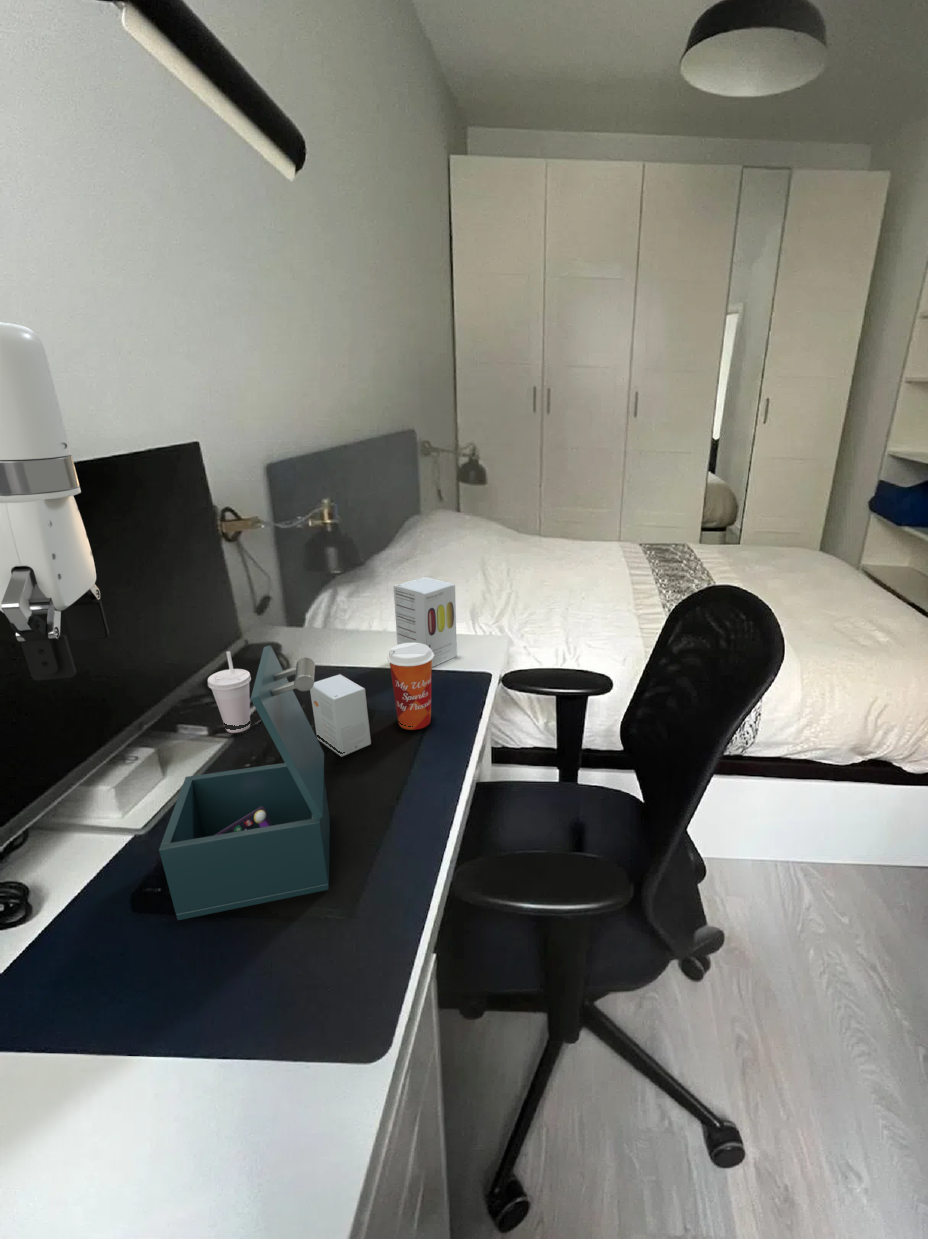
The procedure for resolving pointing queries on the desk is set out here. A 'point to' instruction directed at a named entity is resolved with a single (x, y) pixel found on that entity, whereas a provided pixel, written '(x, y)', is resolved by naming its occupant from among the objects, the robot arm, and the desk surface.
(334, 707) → the small box
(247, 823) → the purple photo frame
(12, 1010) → the desk surface
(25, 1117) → the desk surface
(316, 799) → the bin lid
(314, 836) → the bin
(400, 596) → the supplement box
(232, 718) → the smoothie
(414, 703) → the paper cup
